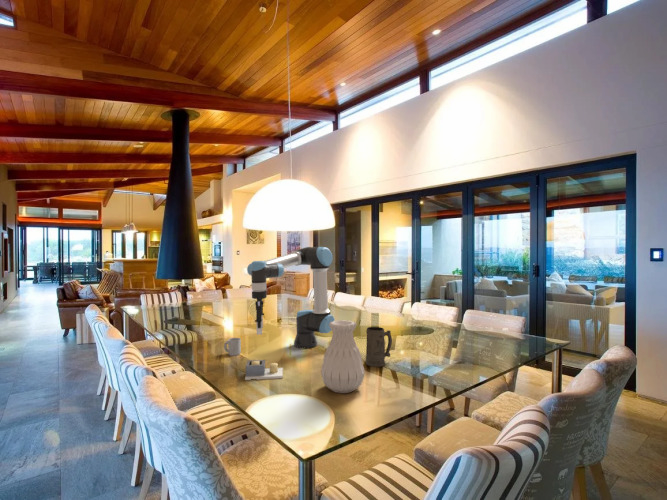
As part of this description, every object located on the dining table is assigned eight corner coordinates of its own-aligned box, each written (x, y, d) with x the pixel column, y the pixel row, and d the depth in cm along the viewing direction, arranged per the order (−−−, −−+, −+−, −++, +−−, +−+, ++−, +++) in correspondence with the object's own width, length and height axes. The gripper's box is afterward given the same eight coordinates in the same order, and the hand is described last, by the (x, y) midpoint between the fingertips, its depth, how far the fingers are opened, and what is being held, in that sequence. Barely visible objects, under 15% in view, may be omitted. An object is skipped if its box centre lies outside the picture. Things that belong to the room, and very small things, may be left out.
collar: (265, 369, 185) (265, 359, 185) (264, 375, 176) (264, 365, 176) (247, 370, 184) (247, 360, 184) (245, 376, 175) (245, 366, 175)
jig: (282, 370, 188) (282, 357, 188) (282, 378, 176) (282, 364, 176) (247, 371, 185) (247, 358, 185) (245, 380, 173) (245, 366, 173)
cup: (238, 355, 212) (238, 340, 212) (222, 355, 212) (222, 340, 212) (242, 352, 220) (242, 337, 220) (225, 352, 220) (225, 337, 220)
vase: (351, 401, 149) (351, 329, 149) (312, 391, 160) (312, 324, 160) (372, 386, 166) (372, 321, 166) (335, 377, 177) (335, 316, 177)
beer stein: (371, 368, 191) (373, 330, 191) (360, 362, 200) (362, 326, 201) (394, 365, 198) (396, 329, 198) (383, 360, 207) (385, 325, 208)
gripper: (253, 287, 199) (253, 325, 199) (250, 294, 174) (251, 337, 175) (266, 287, 200) (267, 325, 200) (265, 293, 175) (266, 336, 176)
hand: (259, 331), depth 187 cm, fingers open, 13 cm apart
